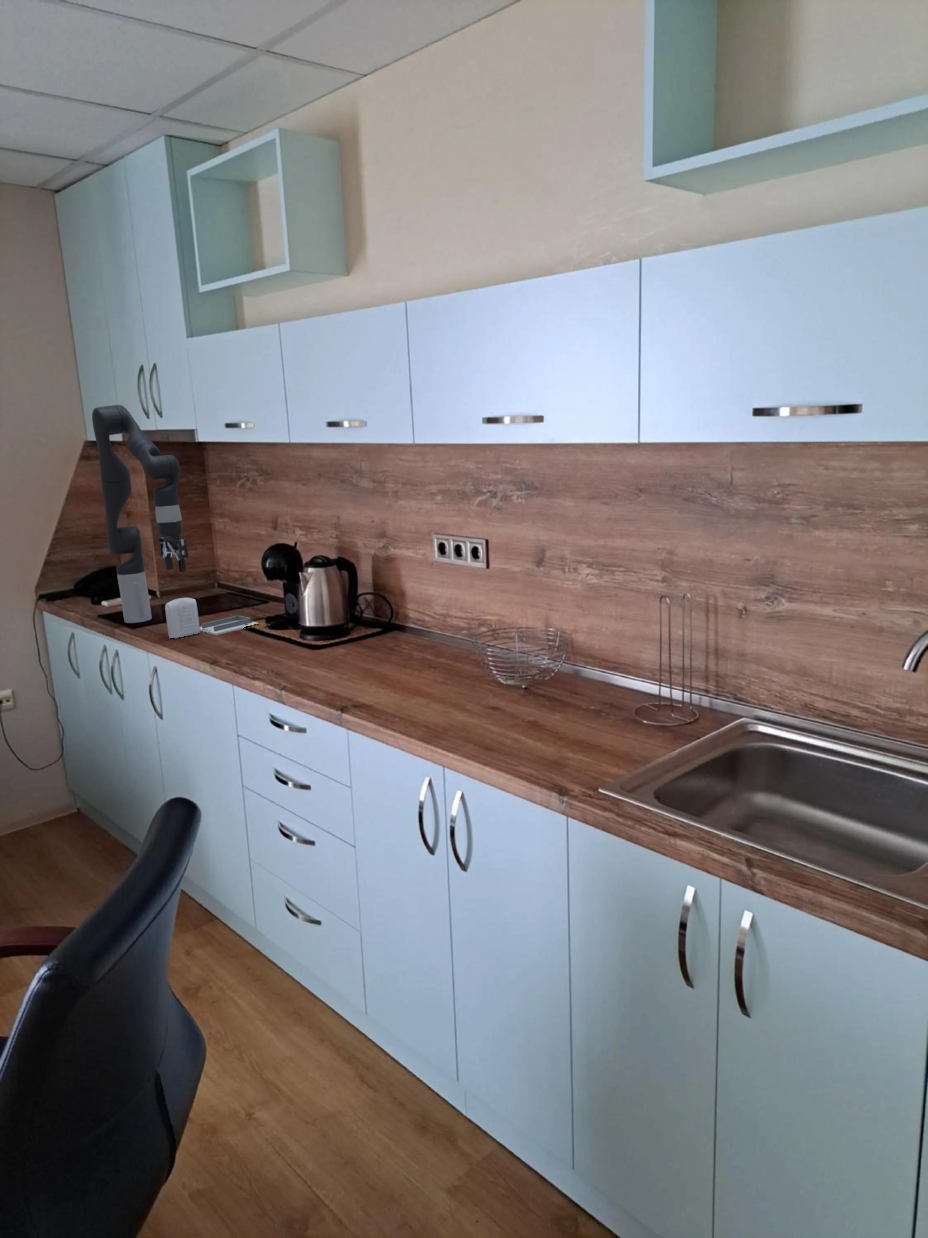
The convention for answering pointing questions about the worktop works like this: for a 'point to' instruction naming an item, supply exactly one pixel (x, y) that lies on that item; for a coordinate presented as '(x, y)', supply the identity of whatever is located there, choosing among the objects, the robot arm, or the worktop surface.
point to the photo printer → (182, 617)
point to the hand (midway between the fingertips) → (176, 570)
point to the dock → (226, 625)
